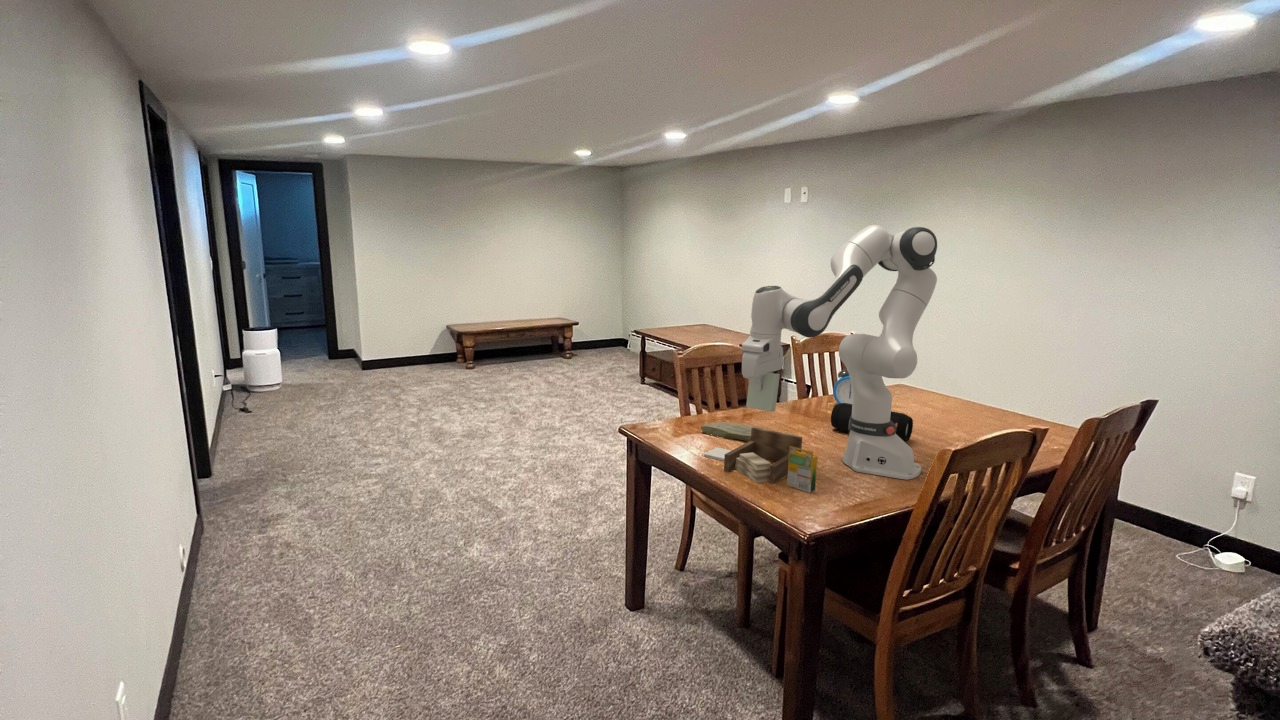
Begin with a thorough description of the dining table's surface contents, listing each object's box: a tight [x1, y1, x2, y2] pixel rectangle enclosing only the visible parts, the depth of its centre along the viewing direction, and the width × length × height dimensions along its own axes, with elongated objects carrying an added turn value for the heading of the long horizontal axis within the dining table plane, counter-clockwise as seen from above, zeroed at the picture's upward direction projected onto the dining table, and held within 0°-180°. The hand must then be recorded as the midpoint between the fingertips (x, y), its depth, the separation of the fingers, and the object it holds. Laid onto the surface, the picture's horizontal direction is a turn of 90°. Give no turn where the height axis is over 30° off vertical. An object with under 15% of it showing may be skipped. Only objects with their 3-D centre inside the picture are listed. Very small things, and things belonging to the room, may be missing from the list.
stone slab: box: [700, 421, 795, 442], centre depth 227 cm, size 12×4×30 cm
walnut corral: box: [723, 426, 803, 485], centre depth 197 cm, size 16×18×9 cm
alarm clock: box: [832, 369, 853, 404], centre depth 265 cm, size 13×6×15 cm, turn 61°
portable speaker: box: [830, 403, 914, 443], centre depth 230 cm, size 26×10×10 cm, turn 52°
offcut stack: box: [734, 452, 772, 483], centre depth 193 cm, size 12×5×5 cm, turn 22°
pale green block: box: [745, 372, 780, 413], centre depth 196 cm, size 8×3×11 cm, turn 54°
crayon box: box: [786, 446, 818, 494], centre depth 183 cm, size 7×3×12 cm, turn 48°
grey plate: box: [703, 446, 732, 462], centre depth 208 cm, size 11×8×1 cm
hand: (761, 388), depth 197 cm, fingers closed on pale green block, 3 cm apart
